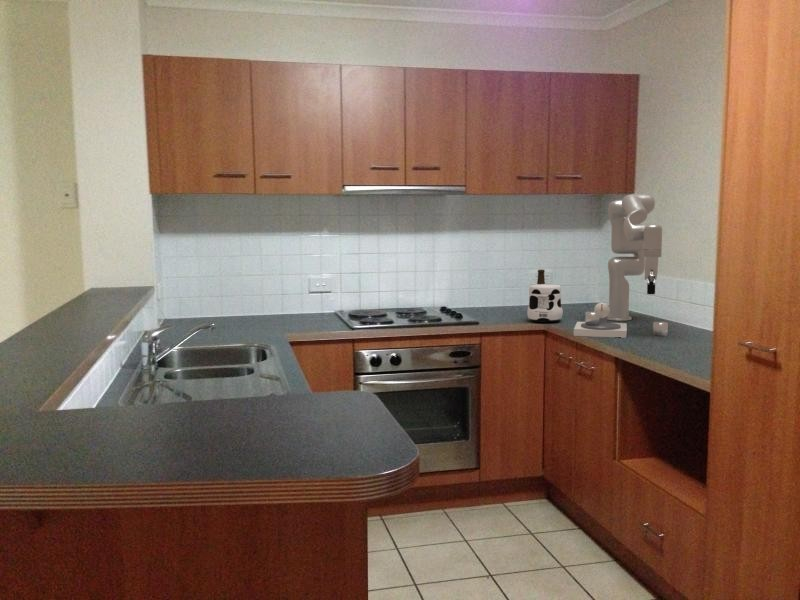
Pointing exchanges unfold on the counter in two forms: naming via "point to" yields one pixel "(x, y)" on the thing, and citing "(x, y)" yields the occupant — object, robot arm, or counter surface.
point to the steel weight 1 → (592, 318)
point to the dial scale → (601, 325)
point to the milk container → (544, 303)
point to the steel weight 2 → (660, 328)
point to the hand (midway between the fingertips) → (651, 292)
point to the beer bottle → (541, 277)
